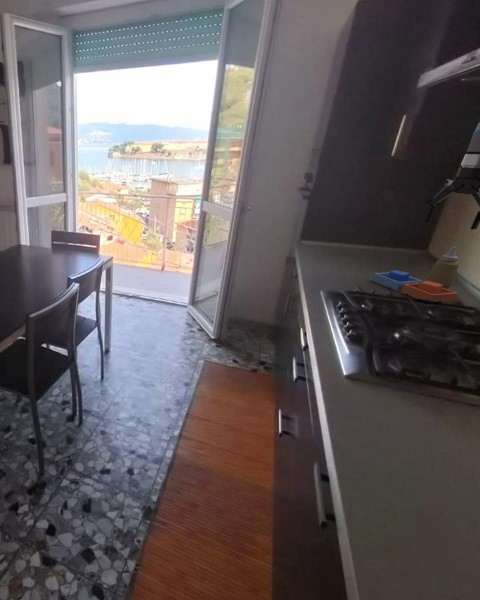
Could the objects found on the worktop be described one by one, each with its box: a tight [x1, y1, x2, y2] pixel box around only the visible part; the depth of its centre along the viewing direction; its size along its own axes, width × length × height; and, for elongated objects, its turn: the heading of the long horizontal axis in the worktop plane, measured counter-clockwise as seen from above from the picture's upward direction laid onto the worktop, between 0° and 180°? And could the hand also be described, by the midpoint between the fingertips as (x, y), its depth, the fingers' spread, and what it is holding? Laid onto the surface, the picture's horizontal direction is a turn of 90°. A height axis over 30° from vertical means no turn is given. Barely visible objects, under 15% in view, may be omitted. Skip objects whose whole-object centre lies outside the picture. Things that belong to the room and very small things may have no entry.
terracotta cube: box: [418, 280, 443, 294], centre depth 140 cm, size 5×5×5 cm
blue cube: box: [387, 269, 411, 282], centre depth 151 cm, size 5×5×5 cm
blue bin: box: [371, 272, 424, 292], centre depth 152 cm, size 11×11×4 cm
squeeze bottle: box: [426, 246, 460, 290], centre depth 144 cm, size 8×8×18 cm
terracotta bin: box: [400, 283, 459, 303], centre depth 140 cm, size 11×11×4 cm
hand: (449, 225), depth 137 cm, fingers open, 13 cm apart
